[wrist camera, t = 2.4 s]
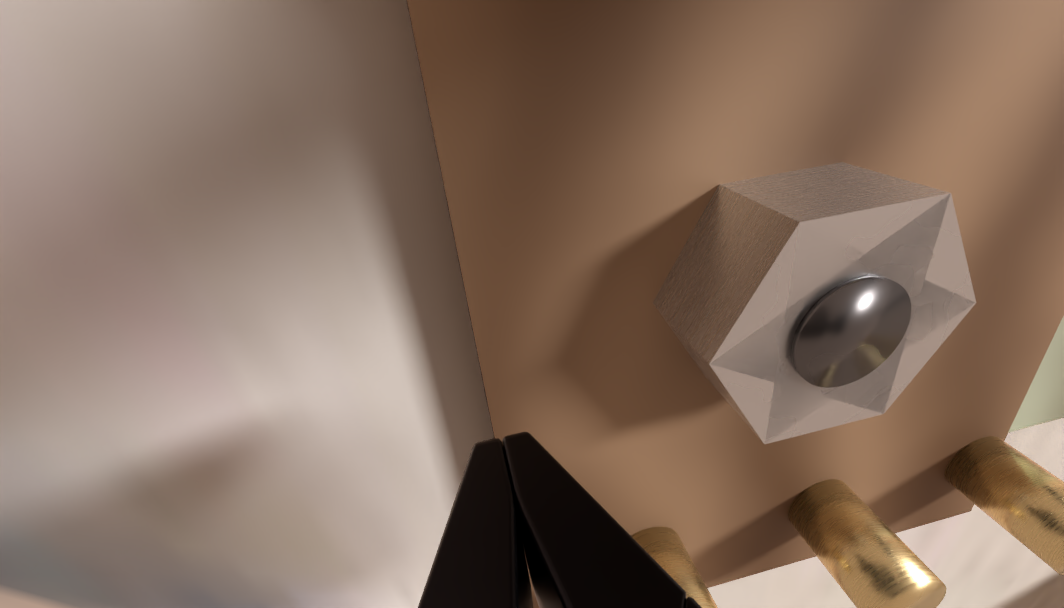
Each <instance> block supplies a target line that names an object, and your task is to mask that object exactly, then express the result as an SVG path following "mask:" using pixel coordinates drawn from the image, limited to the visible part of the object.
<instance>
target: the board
mask: <svg viewBox="0 0 1064 608" xmlns="http://www.w3.org/2000/svg"><path fill="white" fill-rule="evenodd" d="M407 3H408V8H409V13H410V18H411V23H412V28H413V33H414V38H415V43H416V48H417V53H418V58H419V63H420V68H421V73H422V78H423V83H424V88H425V93H426V98H427V103H428V108H429V113H430V118H431V123H432V128H433V133H434V138H435V143H436V148H437V153H438V158H439V163H440V168H441V173H442V178H443V183H444V188H445V193H446V198H447V203H448V208H449V213H450V218H451V223H452V228H453V233H454V238H455V243H456V248H457V253H458V258H459V263H460V268H461V273H462V278H463V283H464V288H465V293H466V298H467V303H468V308H469V313H470V318H471V323H472V328H473V333H474V338H475V343H476V348H477V353H478V358H479V363H480V368H481V373H482V378H483V383H484V388H485V393H486V398H487V403H488V408H489V413H490V418H491V423H492V428H493V433H494V438H499V439H500V440H501V441H502V439H503V438H504V436H507V435H512V434H516V433H520V432H528V433H530V434H531V435H532V436H533V437H534V438H535V439H536V440H537V441H538V442H539V443H540V444H541V445H542V446H543V447H544V448H545V449H546V450H547V451H548V452H549V453H550V454H551V455H552V456H553V457H554V458H555V459H556V460H557V461H558V462H559V463H560V464H561V465H562V466H563V467H564V468H565V469H566V470H567V471H568V472H569V474H570V475H571V476H572V477H573V478H574V479H575V480H576V481H577V482H578V483H579V484H580V485H581V486H582V487H583V488H584V489H585V490H586V491H587V492H588V493H589V494H590V495H591V496H592V497H593V498H594V499H595V500H596V501H597V502H598V503H599V504H600V505H601V506H602V507H603V508H604V509H605V510H606V511H607V512H608V513H609V514H610V515H611V516H612V517H613V518H614V519H615V520H616V521H617V522H618V523H619V524H620V525H621V526H622V527H623V528H624V529H625V530H626V531H627V532H628V533H629V534H630V535H633V534H635V533H637V532H639V531H641V530H644V529H647V528H651V527H668V528H671V529H673V530H674V531H676V532H677V533H678V535H679V537H680V539H681V541H682V542H683V544H684V546H685V548H686V550H687V552H688V554H689V555H690V557H691V559H692V561H693V563H694V565H695V567H696V568H697V570H698V572H699V574H700V576H701V578H702V580H703V581H704V583H705V585H706V587H707V588H709V587H712V586H716V585H719V584H722V583H726V582H729V581H733V580H736V579H740V578H743V577H746V576H750V575H753V574H757V573H760V572H764V571H767V570H770V569H774V568H777V567H781V566H784V565H788V564H791V563H794V562H798V561H801V560H805V559H808V558H812V557H815V556H816V555H815V553H814V552H813V551H812V550H811V548H810V547H809V546H808V544H807V543H806V542H805V541H804V539H803V538H802V537H801V536H800V534H799V533H798V532H797V530H796V529H795V528H794V527H793V525H792V524H791V523H790V521H789V520H788V510H789V508H790V506H791V504H792V502H793V501H794V500H795V498H796V497H797V496H798V495H799V494H800V493H802V492H803V491H804V490H805V489H807V488H808V487H810V486H812V485H814V484H816V483H818V482H821V481H824V480H829V479H838V480H841V481H843V482H845V483H846V484H847V485H848V486H849V487H850V488H851V489H852V490H853V491H854V492H855V493H856V494H857V496H858V497H859V498H860V499H861V500H862V501H863V502H864V503H865V504H866V505H867V506H868V507H869V508H870V509H871V510H872V511H873V512H874V513H875V514H876V515H877V516H878V517H879V518H880V519H881V520H882V521H883V522H884V523H885V524H886V525H887V526H888V527H889V528H890V529H891V530H892V531H893V532H894V533H897V532H901V531H904V530H908V529H911V528H914V527H918V526H921V525H925V524H928V523H932V522H935V521H938V520H942V519H945V518H949V517H952V516H955V515H959V514H962V513H966V512H969V511H971V510H972V507H973V505H974V503H973V502H971V501H970V500H969V499H968V498H967V497H965V496H964V495H963V494H962V493H961V492H959V491H958V490H957V489H956V488H955V487H953V486H952V485H951V484H950V483H948V482H947V481H946V479H945V470H946V467H947V465H948V464H949V462H950V461H951V459H952V458H953V457H954V456H955V455H956V454H957V453H958V452H959V451H960V450H961V449H962V448H964V447H965V446H967V445H968V444H970V443H971V442H973V441H975V440H978V439H980V438H983V437H987V436H995V437H998V438H1000V439H1001V440H1003V441H1004V440H1005V438H1006V436H1007V434H1008V433H1009V432H1012V431H1016V430H1020V429H1023V428H1027V427H1031V426H1034V425H1038V424H1042V423H1045V422H1049V421H1053V420H1056V419H1060V418H1064V0H407ZM841 162H844V163H847V164H851V165H854V166H858V167H861V168H865V169H868V170H872V171H875V172H879V173H882V174H886V175H889V176H893V177H896V178H900V179H903V180H907V181H911V182H914V183H918V184H921V185H925V186H928V187H932V188H935V189H939V190H942V191H946V192H949V193H951V195H952V199H953V203H954V208H955V212H956V216H957V221H958V225H959V229H960V234H961V238H962V243H963V247H964V251H965V256H966V260H967V264H968V269H969V273H970V277H971V282H972V286H973V291H974V295H975V299H976V304H975V305H974V306H973V307H972V308H971V310H970V311H969V312H968V313H967V314H966V316H965V317H964V318H963V319H962V321H961V322H960V323H959V324H958V325H957V327H956V328H955V329H954V330H953V331H952V333H951V334H950V335H949V336H948V337H947V339H946V340H945V341H944V342H943V343H942V345H941V346H940V347H939V348H938V349H937V351H936V352H935V353H934V354H933V355H932V357H931V358H930V359H929V360H928V361H927V363H926V364H925V365H924V366H923V367H922V369H921V370H920V371H919V372H918V373H917V375H916V376H915V377H914V378H913V379H912V381H911V382H910V383H909V384H908V385H907V387H906V388H905V389H904V390H903V391H902V393H901V394H900V395H899V396H898V398H897V399H896V400H895V401H894V402H893V404H892V405H891V406H890V407H889V408H888V410H887V411H886V412H885V413H884V414H882V415H878V416H874V417H870V418H866V419H862V420H858V421H854V422H850V423H847V424H843V425H839V426H835V427H831V428H827V429H823V430H819V431H815V432H811V433H807V434H804V435H800V436H796V437H792V438H788V439H784V440H780V441H776V442H772V443H768V444H764V443H763V442H762V441H761V440H760V439H759V438H758V436H757V435H756V434H755V433H754V432H753V431H752V429H751V428H750V427H749V426H748V425H747V424H746V423H745V421H744V420H743V419H742V418H741V417H740V416H739V415H738V413H737V412H736V411H735V410H734V409H733V408H732V407H731V405H730V404H729V403H728V402H727V401H726V400H725V398H724V397H723V396H722V395H721V394H720V393H719V392H718V390H717V389H716V388H715V387H714V386H713V385H712V384H711V382H710V381H709V380H708V379H707V378H706V377H705V375H704V374H703V373H702V371H701V370H700V368H699V367H698V366H697V364H696V363H695V361H694V360H693V359H692V357H691V356H690V354H689V353H688V351H687V350H686V349H685V347H684V346H683V344H682V343H681V342H680V340H679V339H678V337H677V336H676V335H675V333H674V332H673V330H672V329H671V328H670V326H669V325H668V323H667V322H666V321H665V319H664V318H663V316H662V315H661V313H660V312H659V311H658V309H657V308H656V306H655V305H654V304H653V301H654V299H655V298H656V296H657V294H658V292H659V290H660V289H661V287H662V285H663V283H664V281H665V280H666V278H667V276H668V274H669V273H670V271H671V269H672V267H673V265H674V264H675V262H676V260H677V258H678V256H679V255H680V253H681V251H682V249H683V248H684V246H685V244H686V242H687V240H688V239H689V237H690V235H691V233H692V231H693V230H694V228H695V226H696V224H697V223H698V221H699V219H700V217H701V215H702V214H703V212H704V210H705V208H706V206H707V205H708V203H709V201H710V199H711V197H712V196H713V194H714V192H715V190H716V189H717V187H718V185H719V184H724V183H729V182H735V181H741V180H746V179H752V178H757V177H763V176H768V175H774V174H780V173H785V172H791V171H796V170H802V169H807V168H813V167H819V166H824V165H830V164H835V163H841ZM526 561H527V560H526ZM527 567H528V565H527ZM528 572H529V570H528ZM529 578H530V574H529ZM530 583H531V590H532V598H533V607H534V608H539V605H538V602H537V599H536V596H535V593H534V589H533V586H532V582H531V578H530Z"/></svg>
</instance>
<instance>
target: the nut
mask: <svg viewBox="0 0 1064 608" xmlns="http://www.w3.org/2000/svg"><path fill="white" fill-rule="evenodd" d="M653 304H654V305H655V306H656V308H657V309H658V311H659V312H660V313H661V315H662V316H663V318H664V319H665V321H666V322H667V323H668V325H669V326H670V328H671V329H672V330H673V332H674V333H675V335H676V336H677V337H678V339H679V340H680V342H681V343H682V344H683V346H684V347H685V349H686V350H687V351H688V353H689V354H690V356H691V357H692V359H693V360H694V361H695V363H696V364H697V366H698V367H699V368H700V370H701V371H702V373H703V374H704V375H705V377H706V378H707V379H708V380H709V381H710V382H711V384H712V385H713V386H714V387H715V388H716V389H717V390H718V392H719V393H720V394H721V395H722V396H723V397H724V398H725V400H726V401H727V402H728V403H729V404H730V405H731V407H732V408H733V409H734V410H735V411H736V412H737V413H738V415H739V416H740V417H741V418H742V419H743V420H744V421H745V423H746V424H747V425H748V426H749V427H750V428H751V429H752V431H753V432H754V433H755V434H756V435H757V436H758V438H759V439H760V440H761V441H762V442H763V443H764V444H768V443H772V442H776V441H780V440H784V439H788V438H792V437H796V436H800V435H804V434H807V433H811V432H815V431H819V430H823V429H827V428H831V427H835V426H839V425H843V424H847V423H850V422H854V421H858V420H862V419H866V418H870V417H874V416H878V415H882V414H884V413H885V412H886V411H887V410H888V408H889V407H890V406H891V405H892V404H893V402H894V401H895V400H896V399H897V398H898V396H899V395H900V394H901V393H902V391H903V390H904V389H905V388H906V387H907V385H908V384H909V383H910V382H911V381H912V379H913V378H914V377H915V376H916V375H917V373H918V372H919V371H920V370H921V369H922V367H923V366H924V365H925V364H926V363H927V361H928V360H929V359H930V358H931V357H932V355H933V354H934V353H935V352H936V351H937V349H938V348H939V347H940V346H941V345H942V343H943V342H944V341H945V340H946V339H947V337H948V336H949V335H950V334H951V333H952V331H953V330H954V329H955V328H956V327H957V325H958V324H959V323H960V322H961V321H962V319H963V318H964V317H965V316H966V314H967V313H968V312H969V311H970V310H971V308H972V307H973V306H974V305H975V304H976V299H975V295H974V291H973V286H972V282H971V277H970V273H969V269H968V264H967V260H966V256H965V251H964V247H963V243H962V238H961V234H960V229H959V225H958V221H957V216H956V212H955V208H954V203H953V199H952V195H951V193H949V192H946V191H942V190H939V189H935V188H932V187H928V186H925V185H921V184H918V183H914V182H911V181H907V180H903V179H900V178H896V177H893V176H889V175H886V174H882V173H879V172H875V171H872V170H868V169H865V168H861V167H858V166H854V165H851V164H847V163H844V162H841V163H835V164H830V165H824V166H819V167H813V168H807V169H802V170H796V171H791V172H785V173H780V174H774V175H768V176H763V177H757V178H752V179H746V180H741V181H735V182H729V183H724V184H719V185H718V187H717V189H716V190H715V192H714V194H713V196H712V197H711V199H710V201H709V203H708V205H707V206H706V208H705V210H704V212H703V214H702V215H701V217H700V219H699V221H698V223H697V224H696V226H695V228H694V230H693V231H692V233H691V235H690V237H689V239H688V240H687V242H686V244H685V246H684V248H683V249H682V251H681V253H680V255H679V256H678V258H677V260H676V262H675V264H674V265H673V267H672V269H671V271H670V273H669V274H668V276H667V278H666V280H665V281H664V283H663V285H662V287H661V289H660V290H659V292H658V294H657V296H656V298H655V299H654V301H653Z"/></svg>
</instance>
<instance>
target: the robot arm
mask: <svg viewBox="0 0 1064 608" xmlns="http://www.w3.org/2000/svg"><path fill="white" fill-rule="evenodd" d="M526 560H527V561H526ZM527 565H528V567H527ZM528 570H529V572H528ZM529 574H530V578H531V582H532V586H533V589H534V593H535V596H536V599H537V602H538V605H539V608H702V607H701V606H700V605H699V604H698V603H697V602H696V601H695V600H694V599H693V598H692V597H687V598H686V591H685V590H684V589H683V588H682V587H681V586H680V585H679V584H678V583H677V582H676V581H675V580H674V579H673V578H672V577H671V576H670V575H669V574H668V573H667V572H666V571H665V570H664V569H663V568H662V567H661V566H660V565H659V564H658V563H657V562H656V561H655V560H654V559H653V558H652V557H651V556H650V555H649V554H648V553H647V552H646V551H645V550H644V549H643V548H642V547H641V546H640V545H639V544H638V543H637V542H636V541H635V540H634V539H633V538H632V536H631V535H630V534H629V533H628V532H627V531H626V530H625V529H624V528H623V527H622V526H621V525H620V524H619V523H618V522H617V521H616V520H615V519H614V518H613V517H612V516H611V515H610V514H609V513H608V512H607V511H606V510H605V509H604V508H603V507H602V506H601V505H600V504H599V503H598V502H597V501H596V500H595V499H594V498H593V497H592V496H591V495H590V494H589V493H588V492H587V491H586V490H585V489H584V488H583V487H582V486H581V485H580V484H579V483H578V482H577V481H576V480H575V479H574V478H573V477H572V476H571V475H570V474H569V472H568V471H567V470H566V469H565V468H564V467H563V466H562V465H561V464H560V463H559V462H558V461H557V460H556V459H555V458H554V457H553V456H552V455H551V454H550V453H549V452H548V451H547V450H546V449H545V448H544V447H543V446H542V445H541V444H540V443H539V442H538V441H537V440H536V439H535V438H534V437H533V436H532V435H531V434H530V433H528V432H520V433H516V434H512V435H507V436H504V438H503V439H502V441H501V440H500V439H499V438H495V439H490V440H486V441H482V442H478V443H476V444H475V445H474V446H473V449H472V451H471V454H470V457H469V460H468V463H467V466H466V469H465V472H464V475H463V478H462V481H461V483H460V486H459V489H458V492H457V495H456V498H455V501H454V504H453V507H452V510H451V513H450V516H449V518H448V521H447V524H446V527H445V530H444V533H443V536H442V539H441V542H440V545H439V548H438V550H437V553H436V556H435V559H434V562H433V565H432V568H431V571H430V574H429V577H428V580H427V583H426V585H425V588H424V591H423V594H422V597H421V600H420V603H419V606H418V608H534V607H533V598H532V590H531V583H530V578H529Z"/></svg>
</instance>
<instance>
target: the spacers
mask: <svg viewBox="0 0 1064 608" xmlns="http://www.w3.org/2000/svg"><path fill="white" fill-rule="evenodd" d="M945 479H946V481H947V482H948V483H950V484H951V485H952V486H953V487H955V488H956V489H957V490H958V491H959V492H961V493H962V494H963V495H964V496H965V497H967V498H968V499H969V500H970V501H971V502H973V503H974V504H975V505H976V506H978V507H979V508H980V509H981V510H982V511H984V512H985V513H986V514H987V515H988V516H990V517H991V518H992V519H993V520H995V521H996V522H997V523H998V524H999V525H1001V526H1002V527H1003V528H1004V529H1005V530H1007V531H1008V532H1009V533H1010V534H1011V535H1013V536H1014V537H1015V538H1016V539H1018V540H1019V541H1020V542H1021V543H1022V544H1024V545H1025V546H1026V547H1027V548H1028V549H1030V550H1031V551H1032V552H1033V553H1035V554H1036V555H1037V556H1038V557H1039V558H1041V559H1042V560H1043V561H1044V562H1045V563H1047V564H1048V565H1049V566H1050V567H1051V568H1053V569H1054V570H1055V571H1056V572H1058V573H1059V574H1061V575H1064V482H1063V481H1062V480H1060V479H1059V478H1057V477H1056V476H1054V475H1053V474H1051V473H1050V472H1048V471H1047V470H1045V469H1044V468H1043V467H1041V466H1040V465H1038V464H1037V463H1035V462H1034V461H1032V460H1031V459H1029V458H1028V457H1026V456H1025V455H1023V454H1022V453H1020V452H1019V451H1017V450H1016V449H1014V448H1013V447H1012V446H1010V445H1009V444H1007V443H1006V442H1004V441H1003V440H1001V439H1000V438H998V437H995V436H987V437H983V438H980V439H978V440H975V441H973V442H971V443H970V444H968V445H967V446H965V447H964V448H962V449H961V450H960V451H959V452H958V453H957V454H956V455H955V456H954V457H953V458H952V459H951V461H950V462H949V464H948V465H947V467H946V470H945ZM788 520H789V521H790V523H791V524H792V525H793V527H794V528H795V529H796V530H797V532H798V533H799V534H800V536H801V537H802V538H803V539H804V541H805V542H806V543H807V544H808V546H809V547H810V548H811V550H812V551H813V552H814V553H815V555H816V556H817V557H818V558H819V560H820V561H821V562H822V564H823V565H824V566H825V567H826V569H827V570H828V571H829V573H830V574H831V575H832V576H833V578H834V579H835V580H836V581H837V583H838V584H839V585H840V587H841V588H842V589H843V590H844V592H845V593H846V594H847V595H848V597H849V598H850V599H851V601H852V602H853V603H854V604H855V606H856V607H857V608H936V607H937V606H938V605H939V604H940V602H941V601H942V600H943V598H944V596H945V594H946V586H945V585H944V583H943V582H942V581H941V580H940V579H939V578H938V577H937V576H936V575H935V574H934V573H933V572H932V571H931V570H930V569H929V568H928V567H927V566H926V565H925V564H924V563H923V562H922V561H921V560H920V559H919V558H918V557H917V556H916V555H915V554H914V553H913V552H912V551H911V550H910V549H909V548H908V547H907V546H906V545H905V544H904V543H903V542H902V541H901V539H900V538H899V537H898V536H897V535H896V534H895V533H894V532H893V531H892V530H891V529H890V528H889V527H888V526H887V525H886V524H885V523H884V522H883V521H882V520H881V519H880V518H879V517H878V516H877V515H876V514H875V513H874V512H873V511H872V510H871V509H870V508H869V507H868V506H867V505H866V504H865V503H864V502H863V501H862V500H861V499H860V498H859V497H858V496H857V494H856V493H855V492H854V491H853V490H852V489H851V488H850V487H849V486H848V485H847V484H846V483H845V482H843V481H841V480H838V479H829V480H824V481H821V482H818V483H816V484H814V485H812V486H810V487H808V488H807V489H805V490H804V491H803V492H802V493H800V494H799V495H798V496H797V497H796V498H795V500H794V501H793V502H792V504H791V506H790V508H789V510H788ZM631 536H632V538H633V539H634V540H635V541H636V542H637V543H638V544H639V545H640V546H641V547H642V548H643V549H644V550H645V551H646V552H647V553H648V554H649V555H650V556H651V557H652V558H653V559H654V560H655V561H656V562H657V563H658V564H659V565H660V566H661V567H662V568H663V569H664V570H665V571H666V572H667V573H668V574H669V575H670V576H671V577H672V578H673V579H674V580H675V581H676V582H677V583H678V584H679V585H680V586H681V587H682V588H683V589H684V590H685V591H686V598H687V597H692V598H693V599H694V600H695V601H696V602H697V603H698V604H699V605H700V606H701V607H702V608H717V606H716V604H715V602H714V600H713V598H712V596H711V594H710V593H709V591H708V589H707V587H706V585H705V583H704V581H703V580H702V578H701V576H700V574H699V572H698V570H697V568H696V567H695V565H694V563H693V561H692V559H691V557H690V555H689V554H688V552H687V550H686V548H685V546H684V544H683V542H682V541H681V539H680V537H679V535H678V533H677V532H676V531H674V530H673V529H671V528H668V527H651V528H647V529H644V530H641V531H639V532H637V533H635V534H633V535H631Z"/></svg>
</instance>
